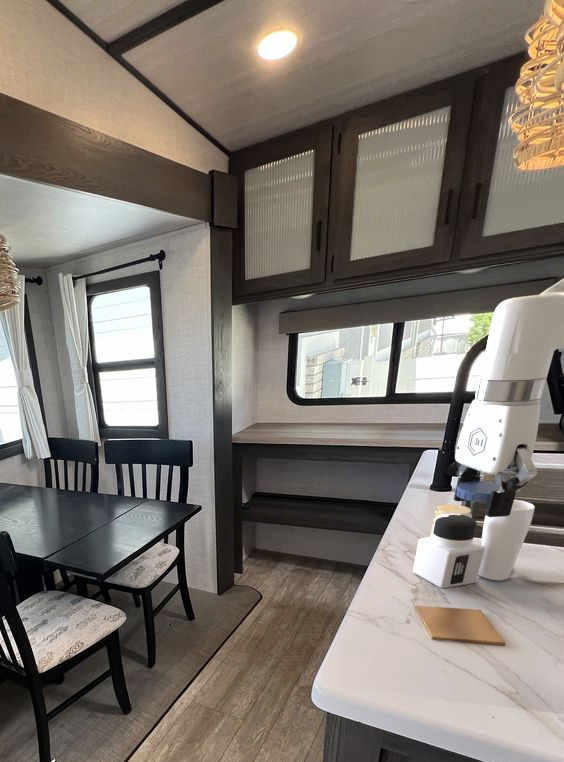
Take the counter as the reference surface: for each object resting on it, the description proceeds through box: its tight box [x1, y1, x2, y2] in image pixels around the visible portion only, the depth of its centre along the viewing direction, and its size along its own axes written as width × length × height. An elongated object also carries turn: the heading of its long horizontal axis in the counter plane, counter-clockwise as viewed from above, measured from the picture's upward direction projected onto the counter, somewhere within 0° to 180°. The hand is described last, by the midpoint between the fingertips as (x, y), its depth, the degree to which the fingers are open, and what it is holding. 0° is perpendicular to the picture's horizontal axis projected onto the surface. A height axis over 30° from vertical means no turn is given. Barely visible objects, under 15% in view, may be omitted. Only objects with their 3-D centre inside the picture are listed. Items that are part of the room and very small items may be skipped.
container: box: [412, 514, 485, 589], centre depth 91 cm, size 8×8×13 cm
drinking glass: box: [478, 499, 536, 582], centre depth 90 cm, size 7×7×15 cm
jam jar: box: [429, 503, 473, 537], centre depth 104 cm, size 7×7×9 cm
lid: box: [455, 480, 496, 504], centre depth 74 cm, size 7×7×1 cm
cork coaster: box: [414, 605, 506, 646], centre depth 79 cm, size 10×10×1 cm
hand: (480, 507), depth 75 cm, fingers closed on lid, 7 cm apart
